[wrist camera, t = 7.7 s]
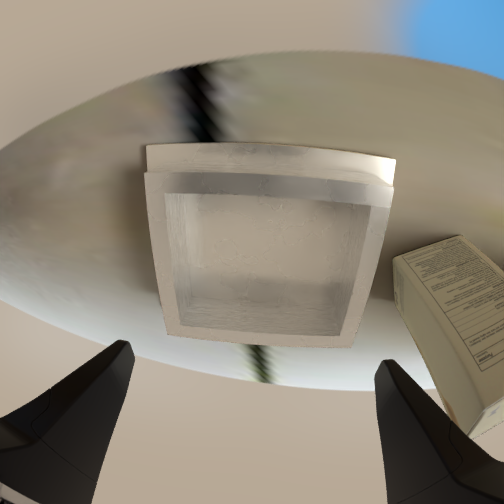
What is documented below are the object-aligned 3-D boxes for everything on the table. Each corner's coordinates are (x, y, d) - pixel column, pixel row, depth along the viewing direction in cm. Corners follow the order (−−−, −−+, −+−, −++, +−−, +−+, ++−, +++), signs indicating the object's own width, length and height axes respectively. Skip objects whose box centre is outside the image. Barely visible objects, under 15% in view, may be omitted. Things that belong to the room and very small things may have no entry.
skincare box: (393, 304, 19) (451, 451, 8) (390, 255, 17) (477, 414, 6) (462, 280, 17) (540, 398, 6) (465, 231, 15) (573, 346, 5)
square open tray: (391, 158, 14) (420, 171, 11) (354, 322, 20) (364, 357, 16) (150, 144, 15) (120, 153, 12) (168, 309, 20) (152, 342, 17)
